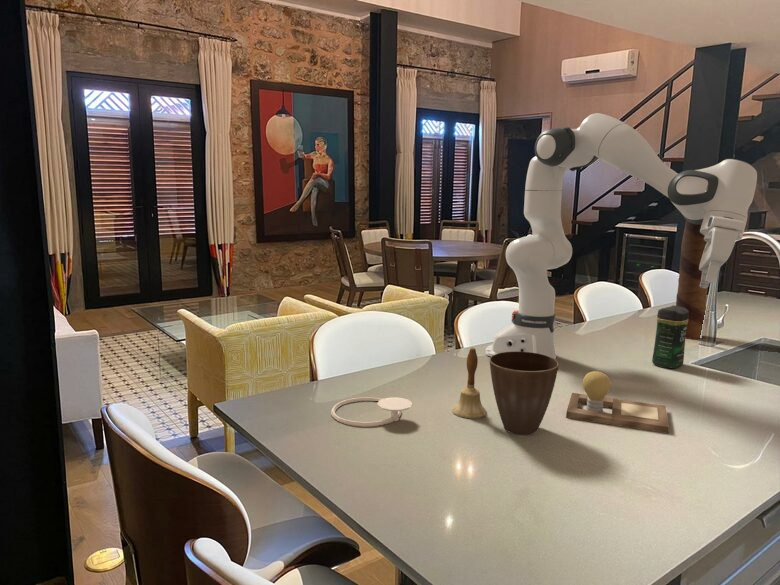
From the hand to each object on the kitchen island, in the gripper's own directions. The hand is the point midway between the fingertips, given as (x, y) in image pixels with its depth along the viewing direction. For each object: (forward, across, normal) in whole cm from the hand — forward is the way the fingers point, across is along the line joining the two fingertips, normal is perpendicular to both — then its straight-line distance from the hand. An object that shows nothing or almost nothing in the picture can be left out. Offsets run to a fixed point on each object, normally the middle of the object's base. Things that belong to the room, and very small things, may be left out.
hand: (706, 285), depth 135 cm
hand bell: (+45, +12, -43) cm, 63 cm away
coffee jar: (+20, -49, 0) cm, 52 cm away
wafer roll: (+6, -90, +7) cm, 90 cm away
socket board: (+35, 0, -11) cm, 37 cm away
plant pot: (+44, +17, -30) cm, 56 cm away
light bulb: (+36, -1, -16) cm, 40 cm away
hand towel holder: (+52, +22, -63) cm, 84 cm away
